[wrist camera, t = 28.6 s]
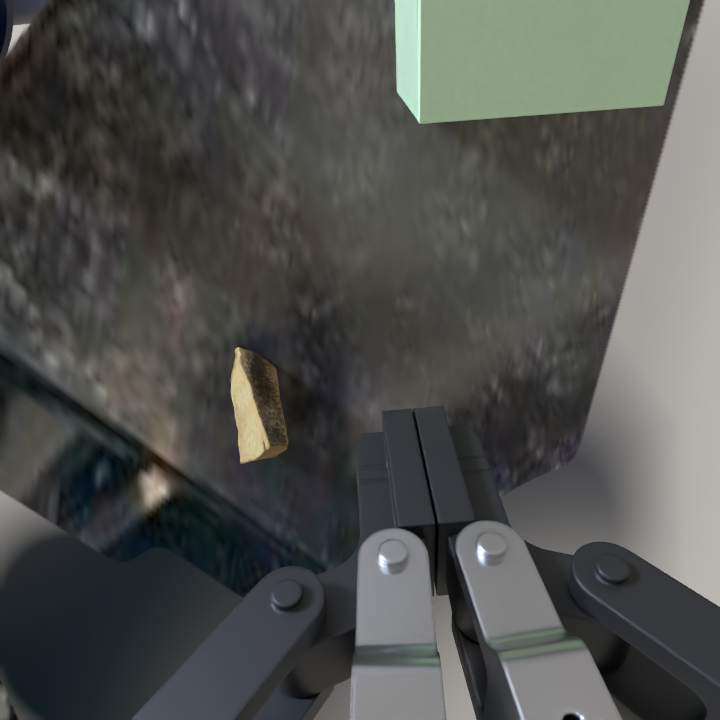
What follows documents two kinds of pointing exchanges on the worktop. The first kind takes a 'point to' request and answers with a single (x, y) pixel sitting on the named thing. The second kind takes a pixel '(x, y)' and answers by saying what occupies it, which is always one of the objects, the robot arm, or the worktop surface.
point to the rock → (257, 407)
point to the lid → (543, 56)
